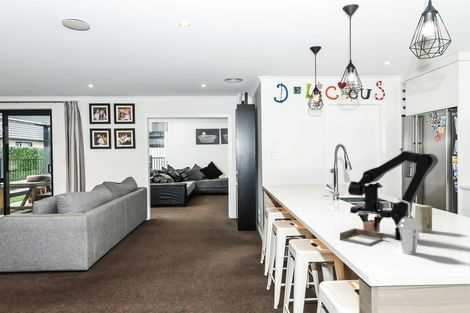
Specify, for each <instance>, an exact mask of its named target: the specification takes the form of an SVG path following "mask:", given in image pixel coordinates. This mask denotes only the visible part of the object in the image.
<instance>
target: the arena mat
mask: <svg viewBox="0 0 470 313" xmlns="http://www.w3.org/2000/svg"><path fill="white" fill-rule="evenodd" d="M341 241H343V242H348V243H353V244H357V245H362V246H367V247H370V246H373V245H374V244H377V243H379V242H382V241H383V240H382V239H381V238H375V237H370V236H365V235H359V234H354V235H351V236H348V237H346V238H343V239H342V240H341Z"/></svg>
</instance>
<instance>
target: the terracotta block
mask: <svg viewBox="0 0 470 313" xmlns="http://www.w3.org/2000/svg"><path fill="white" fill-rule="evenodd" d="M380 224H381V223H380ZM380 224H379V227H378V229H377V231H375V222H374V219H370V220H369V219H368V221H366V222H363V221H362V226H363V229H362V230H368V231H373V232H379V233H381V232H380V230H381V229H380V228H381V227H380V226H381V225H380Z"/></svg>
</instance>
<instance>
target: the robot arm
mask: <svg viewBox="0 0 470 313" xmlns="http://www.w3.org/2000/svg"><path fill="white" fill-rule="evenodd" d="M406 162H410V163H414V164H415V171H414V174H413V176H412V178H411V180H410V182H409V183H408V186H407V188H406V190H405V192H404V194H403V196H402V200H404V201H407V202H409V203H410V216H411V217H413V216H412V209H413V203H414V201H415V199H416V197H417V196H418V194H419V192H420V190H421V188H422V185H424V184H423V183H424V182H425V180H426V178H427V176H428V175H429V174H430V173H431V172H432V171H433V170H434V169H435V167H436V166H437V165H438V163H439V159H438V157H437V156H436V154H434V153H417V152H412V151H408V150H406V151H405V150H403V151H401V153H400V154H397V155H396V156H394V157H392V158H391V159H389V160H387V161H386V162H383V164H380V165H379V166H376V167H373V168H370V169H368V170H365V171H364V172H363V173H362V177H361V178H360V180H358V181H355V180H353V181H350V184H349V185H348V188H347V192H348V194H349V196H356V197H357V196H359V197H362V196H364V198H363V202H364V207H363V206H360V205H355V206H354V205H353V206H351V207H350V209H349V213H351V214H355V215H357V216H359V218H360V220H361V222H362V223H363V222H366V221H369V214H372V215H376V216H374V219H373V220H374V222H375V231H377V229H378V227H379V224H381V222H382V220H383V219H384V218H385V219H386V218H387V219H390V218H391V219H392V220H393V222H394V225H395V237H394V239H395V240H398V241H401V237H400V232H399V228H398V227H397V224H398V223H399V221H400V219H401V218H403V217H405V216H408V204H407V203H405V202H402V201H398V202H394V203H393V205H392V208H391V209H384V207H385V206H384V203H383V202H380V198H379V188H383V187H384V186H383V185H382V184H381V183H380V182H378V181H380V179H382V178H383V177H384V176H385V175H386V174H387V173H388V172H390V171H393V170H394V169H395V168H397V167H399V166H401V165H402V164H404V163H405V164H406ZM357 213H358V214H357Z"/></svg>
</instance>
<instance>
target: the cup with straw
mask: <svg viewBox="0 0 470 313" xmlns="http://www.w3.org/2000/svg"><path fill="white" fill-rule="evenodd" d="M397 201H398V202H401V201H402V202H405V203H407V204H408V216H405V217H403V218H401V219H400V221H399V223H398V224H397V226H396V228H397V227H398V228H399V232H400V237H401V240H400V242H401V250H402V253H403V254H405V255H413V256H414V255H416V254H417V249H418V240H419V234H420V232H419V230H420V229H422V227H421V225H419V222H418V221H417V219H415V216H412V215H411V216H412V217H411V216H410V203H409V202H407V201H404V200H402V199H401V198H397Z"/></svg>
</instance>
